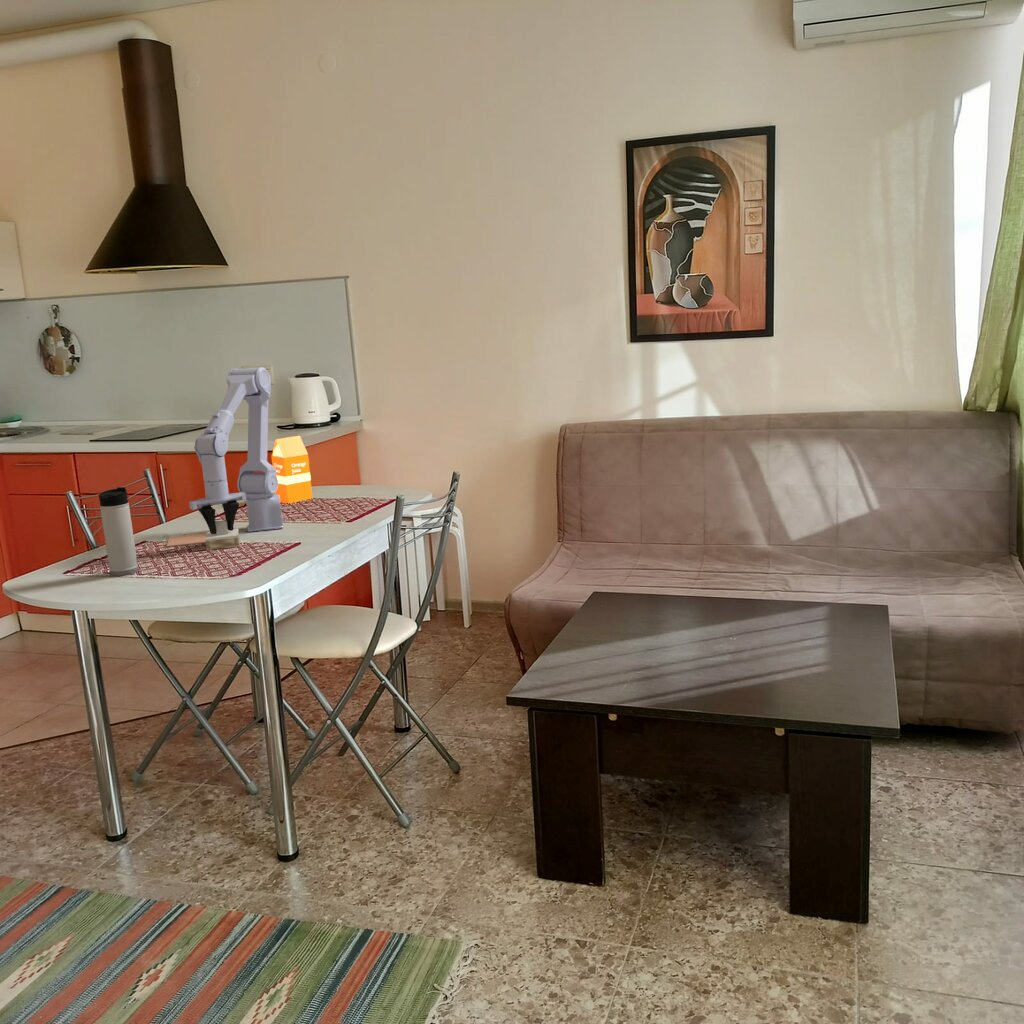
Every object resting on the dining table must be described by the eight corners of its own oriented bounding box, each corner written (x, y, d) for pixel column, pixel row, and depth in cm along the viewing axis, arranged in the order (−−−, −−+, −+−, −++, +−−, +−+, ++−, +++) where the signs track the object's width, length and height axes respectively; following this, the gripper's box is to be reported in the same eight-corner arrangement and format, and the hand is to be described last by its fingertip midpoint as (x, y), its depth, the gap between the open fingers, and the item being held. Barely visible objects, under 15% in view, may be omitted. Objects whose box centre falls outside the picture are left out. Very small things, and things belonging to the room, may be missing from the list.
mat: (212, 533, 268) (212, 532, 268) (210, 542, 257) (210, 541, 257) (170, 538, 265) (170, 536, 265) (166, 547, 255) (166, 546, 255)
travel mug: (145, 569, 234) (133, 487, 230) (126, 576, 228) (113, 492, 223) (123, 568, 236) (111, 486, 232) (104, 575, 230) (91, 492, 226)
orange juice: (276, 501, 310) (269, 438, 306) (300, 496, 316) (293, 434, 311) (288, 503, 304) (281, 440, 300) (313, 498, 310) (306, 436, 306)
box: (239, 539, 259) (238, 531, 258) (239, 546, 251) (238, 537, 250) (208, 543, 257) (207, 534, 256) (206, 550, 249) (205, 541, 249)
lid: (238, 534, 258) (236, 517, 257) (238, 540, 251) (236, 523, 250) (207, 537, 256) (205, 520, 255) (205, 544, 249) (203, 526, 248)
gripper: (234, 474, 258) (240, 524, 261) (181, 483, 249) (188, 535, 251) (247, 476, 253) (252, 527, 256) (193, 486, 243) (200, 539, 246)
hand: (221, 531), depth 253 cm, fingers closed on lid, 4 cm apart
